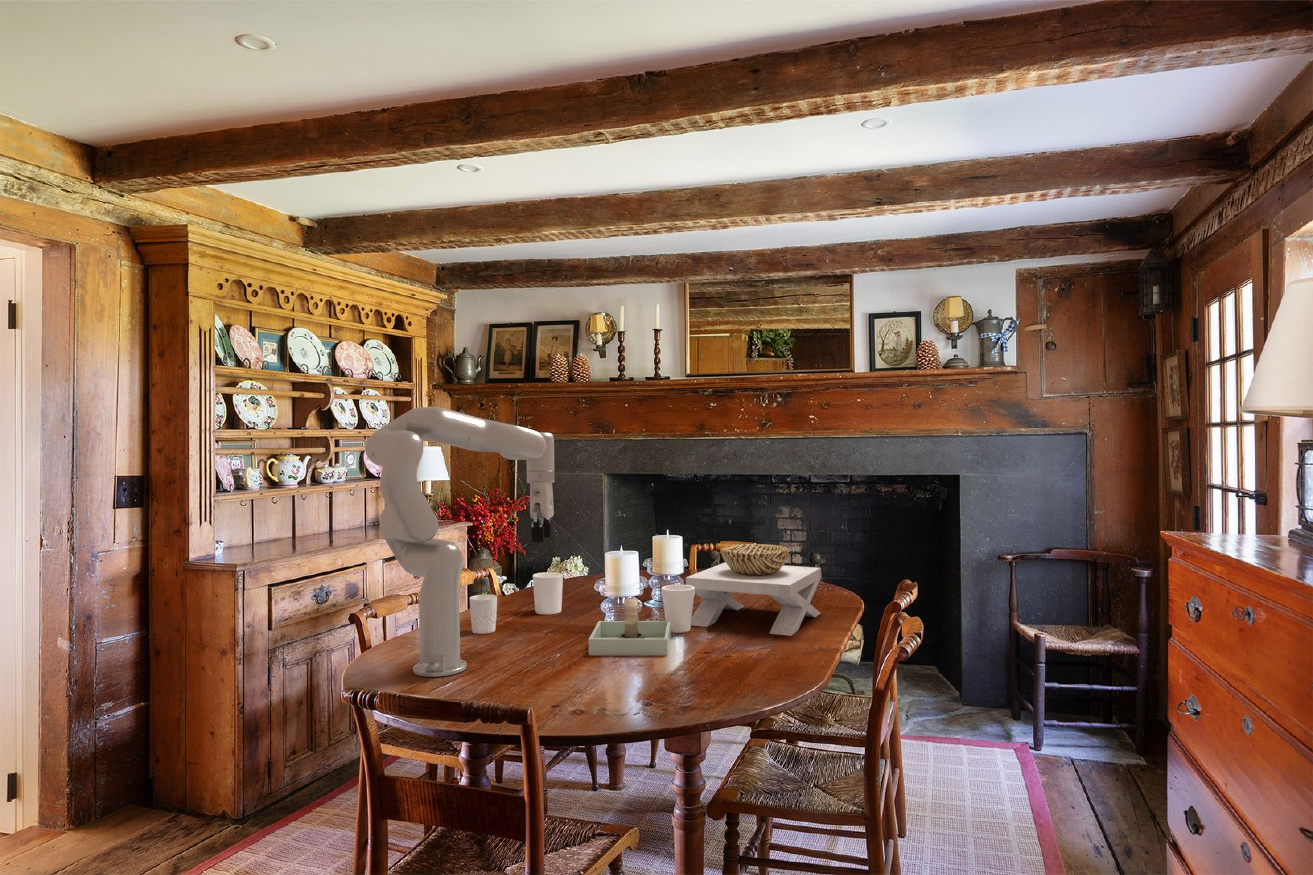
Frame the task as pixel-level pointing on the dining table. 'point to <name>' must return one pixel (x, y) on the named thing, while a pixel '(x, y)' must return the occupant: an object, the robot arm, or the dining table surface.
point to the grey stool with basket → (756, 585)
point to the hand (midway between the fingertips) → (541, 539)
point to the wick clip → (622, 636)
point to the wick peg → (631, 618)
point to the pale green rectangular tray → (609, 644)
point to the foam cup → (678, 606)
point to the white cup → (483, 613)
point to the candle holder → (548, 592)
